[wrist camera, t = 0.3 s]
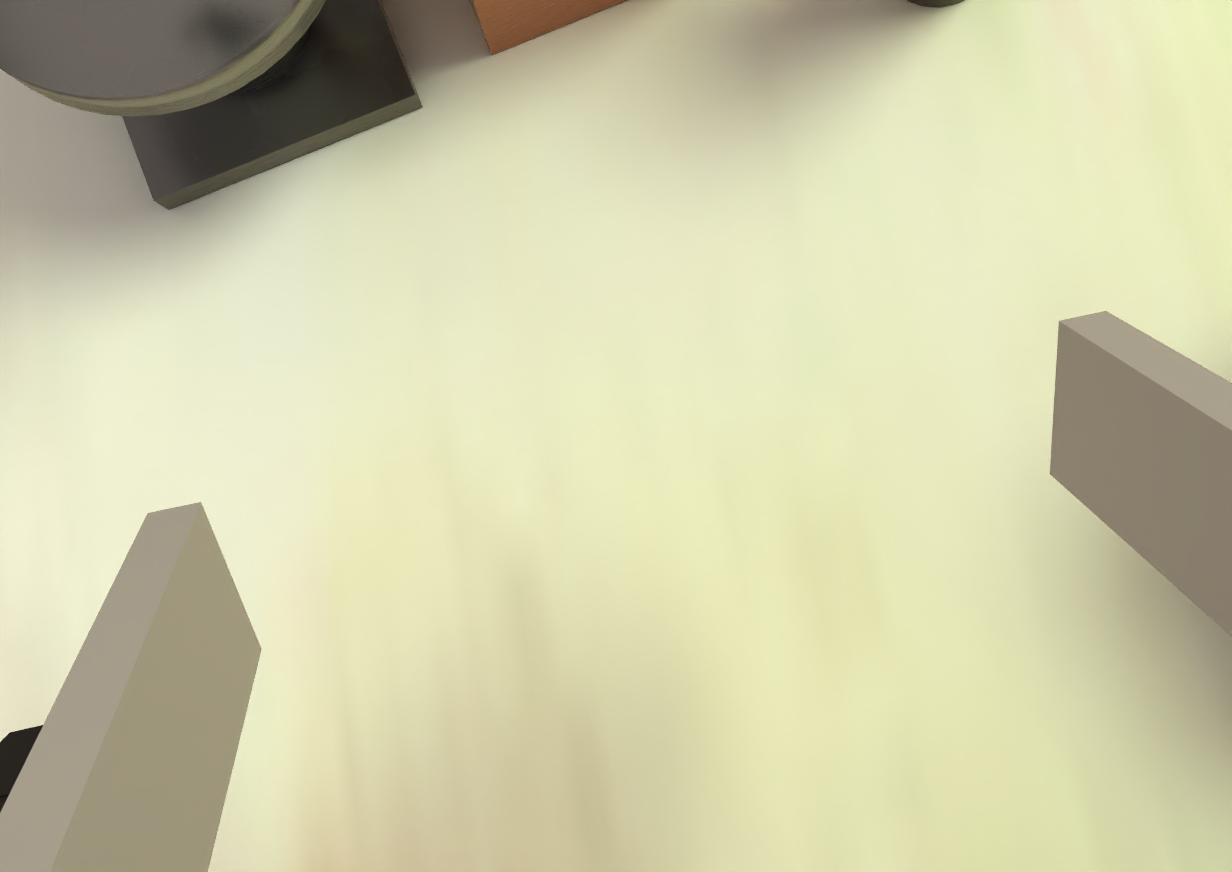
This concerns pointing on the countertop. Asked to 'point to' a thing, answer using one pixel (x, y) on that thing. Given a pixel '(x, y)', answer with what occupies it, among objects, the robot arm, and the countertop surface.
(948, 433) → the countertop surface
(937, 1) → the dark grey cylinder
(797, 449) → the countertop surface
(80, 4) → the post with bracket
